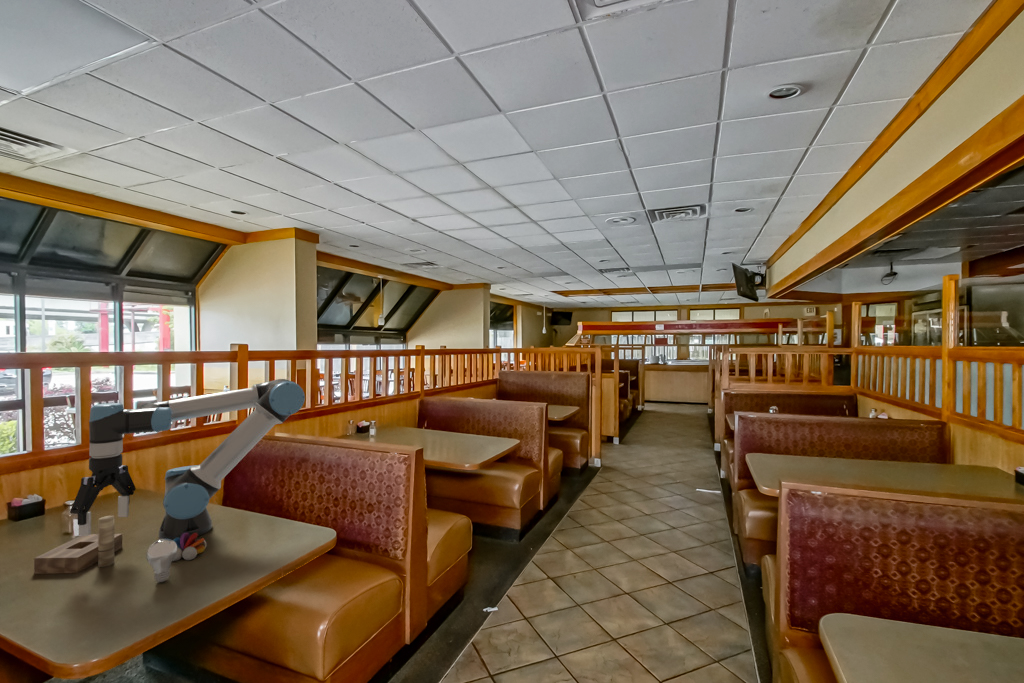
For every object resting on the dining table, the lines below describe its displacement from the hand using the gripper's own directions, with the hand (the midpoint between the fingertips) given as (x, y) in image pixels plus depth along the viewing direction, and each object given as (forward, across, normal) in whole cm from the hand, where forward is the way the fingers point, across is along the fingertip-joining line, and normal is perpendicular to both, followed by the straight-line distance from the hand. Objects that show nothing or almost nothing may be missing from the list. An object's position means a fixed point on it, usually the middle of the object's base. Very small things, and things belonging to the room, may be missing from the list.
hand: (104, 525), depth 136 cm
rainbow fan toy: (+12, -5, +21) cm, 25 cm away
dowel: (+12, 0, 0) cm, 12 cm away
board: (+12, -3, -10) cm, 16 cm away
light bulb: (+12, +11, +24) cm, 29 cm away
